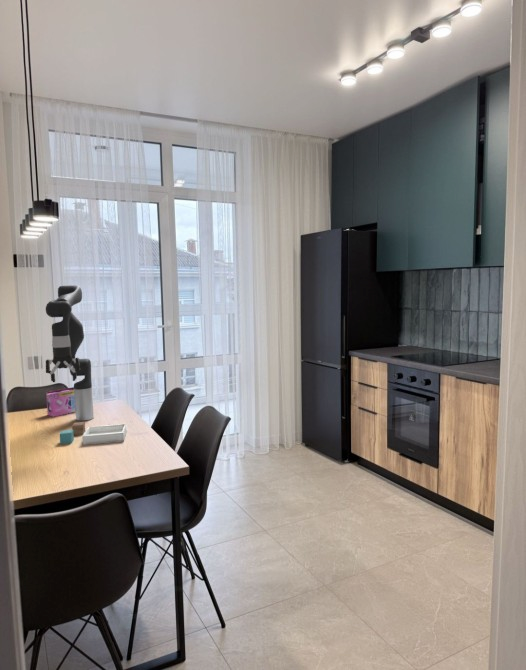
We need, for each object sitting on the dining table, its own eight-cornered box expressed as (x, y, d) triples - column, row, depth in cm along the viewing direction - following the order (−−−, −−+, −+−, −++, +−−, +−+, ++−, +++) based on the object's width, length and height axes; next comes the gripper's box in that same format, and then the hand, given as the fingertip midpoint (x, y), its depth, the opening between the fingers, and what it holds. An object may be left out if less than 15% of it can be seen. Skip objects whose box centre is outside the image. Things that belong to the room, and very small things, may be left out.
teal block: (62, 441, 221) (61, 430, 220) (73, 440, 222) (73, 429, 221) (60, 444, 216) (59, 433, 215) (71, 443, 217) (71, 432, 216)
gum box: (51, 417, 265) (49, 394, 264) (44, 415, 270) (43, 392, 269) (90, 408, 283) (89, 386, 282) (84, 407, 288) (82, 385, 287)
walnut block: (74, 432, 234) (74, 422, 233) (85, 431, 235) (84, 421, 234) (72, 435, 229) (72, 425, 228) (83, 434, 230) (82, 424, 229)
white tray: (88, 434, 229) (87, 426, 229) (126, 431, 232) (126, 423, 232) (82, 445, 213) (82, 436, 213) (123, 441, 217) (123, 432, 216)
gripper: (79, 344, 217) (81, 378, 219) (46, 345, 214) (49, 381, 215) (77, 345, 210) (79, 381, 211) (42, 347, 207) (45, 384, 208)
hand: (64, 381), depth 213 cm, fingers open, 8 cm apart
